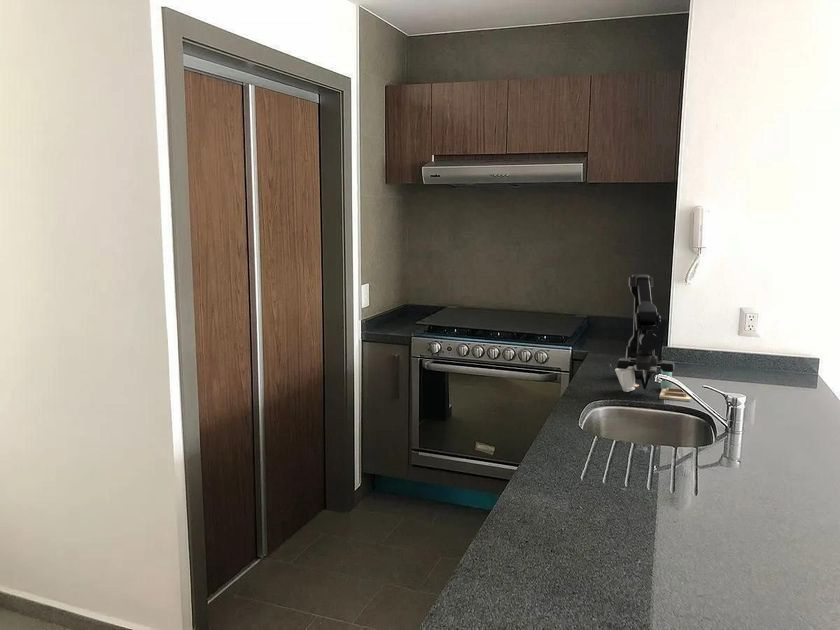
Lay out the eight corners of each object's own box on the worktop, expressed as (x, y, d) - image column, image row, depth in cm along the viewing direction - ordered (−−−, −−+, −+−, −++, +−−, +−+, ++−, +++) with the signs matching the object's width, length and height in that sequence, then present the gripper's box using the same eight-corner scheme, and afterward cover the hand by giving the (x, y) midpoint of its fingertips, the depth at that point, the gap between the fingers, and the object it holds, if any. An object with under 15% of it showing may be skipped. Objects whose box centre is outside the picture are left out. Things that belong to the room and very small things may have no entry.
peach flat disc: (625, 383, 262) (625, 382, 262) (639, 384, 260) (639, 383, 260) (623, 386, 257) (623, 385, 257) (637, 387, 255) (637, 386, 255)
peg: (661, 387, 255) (661, 368, 254) (671, 388, 254) (672, 369, 253) (660, 389, 252) (660, 370, 251) (670, 390, 251) (671, 371, 250)
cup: (641, 385, 252) (636, 364, 251) (634, 394, 244) (630, 372, 243) (621, 387, 256) (617, 366, 255) (614, 396, 247) (610, 374, 246)
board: (662, 390, 251) (662, 385, 251) (692, 393, 247) (692, 388, 247) (659, 398, 240) (659, 393, 240) (690, 401, 236) (690, 396, 236)
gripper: (615, 347, 241) (614, 392, 244) (672, 351, 234) (671, 396, 236) (619, 342, 252) (618, 384, 254) (675, 345, 244) (673, 389, 246)
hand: (644, 388), depth 247 cm, fingers closed
